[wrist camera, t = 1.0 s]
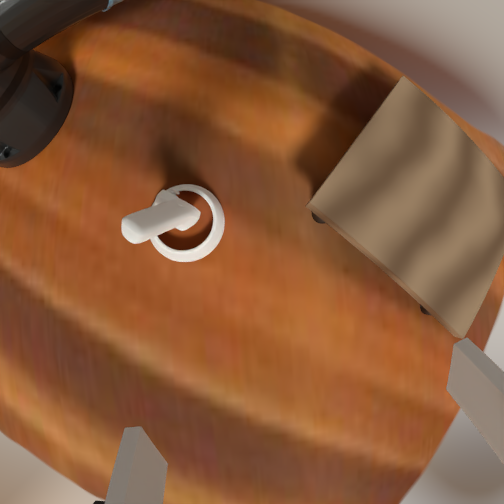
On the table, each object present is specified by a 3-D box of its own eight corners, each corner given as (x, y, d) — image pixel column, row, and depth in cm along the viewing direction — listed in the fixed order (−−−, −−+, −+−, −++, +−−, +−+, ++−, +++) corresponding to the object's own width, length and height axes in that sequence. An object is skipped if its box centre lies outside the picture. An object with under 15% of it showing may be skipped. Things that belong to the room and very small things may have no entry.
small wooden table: (294, 216, 31) (309, 202, 25) (379, 102, 33) (403, 75, 26) (428, 329, 32) (463, 338, 25) (488, 210, 33) (521, 201, 27)
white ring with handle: (82, 267, 25) (88, 194, 21) (163, 225, 35) (178, 168, 32) (145, 316, 23) (161, 240, 20) (219, 258, 34) (240, 199, 30)
